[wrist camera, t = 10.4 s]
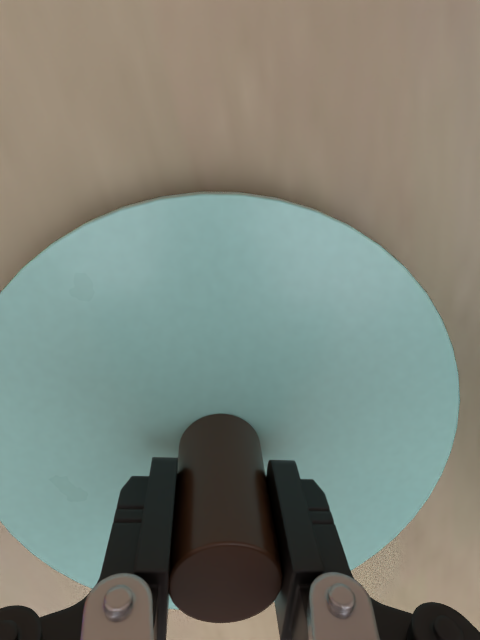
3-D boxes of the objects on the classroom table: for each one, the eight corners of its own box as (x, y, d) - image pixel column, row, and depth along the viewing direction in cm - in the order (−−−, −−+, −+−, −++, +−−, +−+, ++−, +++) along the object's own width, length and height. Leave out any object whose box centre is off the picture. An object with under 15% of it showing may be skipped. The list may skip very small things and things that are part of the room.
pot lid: (6, 583, 18) (-85, 789, 12) (-62, 164, 12) (-305, 191, 6) (388, 581, 19) (462, 762, 14) (501, 210, 13) (715, 265, 8)
